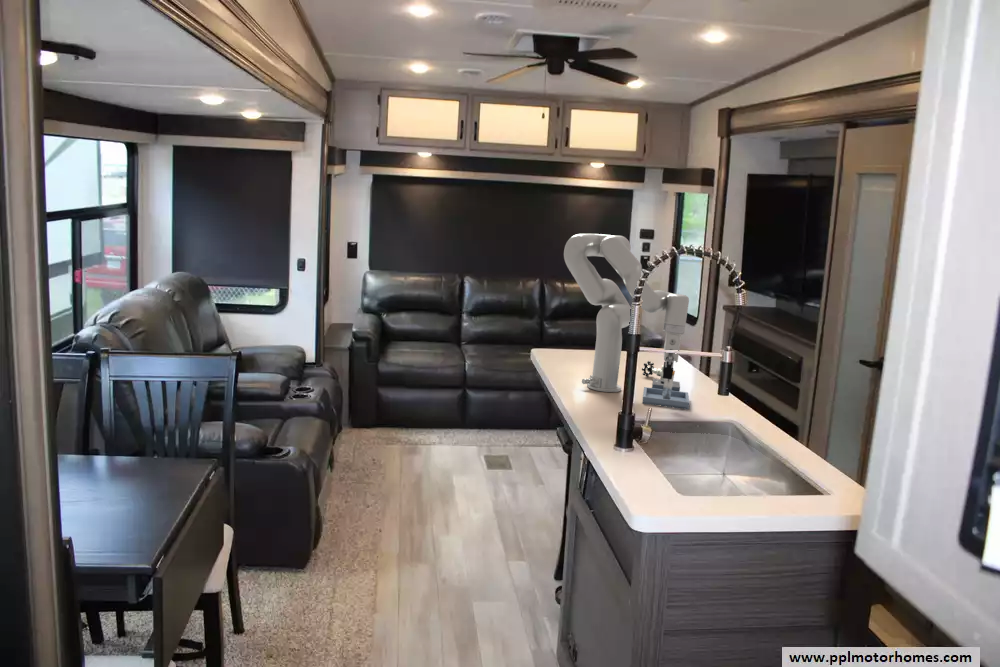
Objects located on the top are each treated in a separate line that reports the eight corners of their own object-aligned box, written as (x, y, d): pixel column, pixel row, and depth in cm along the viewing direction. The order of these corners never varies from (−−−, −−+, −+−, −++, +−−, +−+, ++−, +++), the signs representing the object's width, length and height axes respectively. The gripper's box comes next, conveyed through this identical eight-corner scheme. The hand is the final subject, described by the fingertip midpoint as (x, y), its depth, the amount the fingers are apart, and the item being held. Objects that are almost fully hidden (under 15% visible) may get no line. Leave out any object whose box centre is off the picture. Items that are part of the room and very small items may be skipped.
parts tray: (688, 409, 292) (689, 402, 292) (642, 403, 295) (643, 396, 294) (687, 399, 308) (688, 392, 307) (643, 393, 310) (644, 386, 310)
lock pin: (666, 400, 299) (670, 371, 297) (659, 398, 301) (664, 369, 300) (672, 400, 301) (676, 371, 299) (665, 397, 303) (670, 369, 301)
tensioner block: (678, 396, 310) (680, 387, 309) (651, 393, 312) (652, 384, 311) (678, 390, 320) (679, 381, 319) (651, 387, 321) (653, 378, 321)
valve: (674, 383, 333) (651, 376, 343) (676, 366, 332) (653, 360, 342) (662, 384, 329) (640, 377, 339) (664, 367, 328) (642, 361, 338)
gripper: (685, 334, 288) (678, 382, 291) (684, 326, 304) (677, 372, 308) (663, 331, 289) (656, 379, 292) (663, 323, 306) (656, 369, 309)
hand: (667, 375), depth 300 cm, fingers open, 9 cm apart
